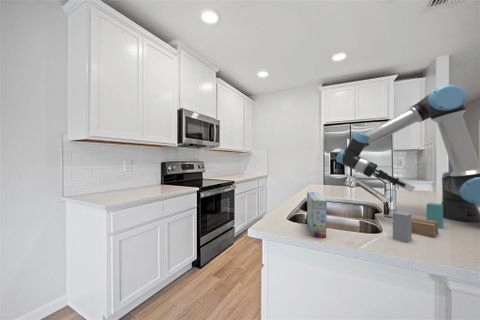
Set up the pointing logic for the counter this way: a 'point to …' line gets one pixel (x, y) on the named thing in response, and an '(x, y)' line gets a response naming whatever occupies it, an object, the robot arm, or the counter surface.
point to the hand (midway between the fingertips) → (412, 189)
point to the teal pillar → (435, 213)
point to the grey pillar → (402, 226)
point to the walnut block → (424, 227)
